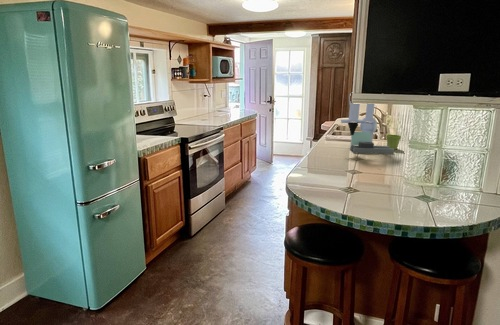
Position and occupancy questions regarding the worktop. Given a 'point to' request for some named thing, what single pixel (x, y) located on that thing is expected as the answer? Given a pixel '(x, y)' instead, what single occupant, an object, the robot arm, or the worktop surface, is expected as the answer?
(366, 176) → the worktop surface
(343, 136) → the worktop surface
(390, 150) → the grey frame
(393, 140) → the plant pot
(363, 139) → the cover
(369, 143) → the block
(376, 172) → the worktop surface
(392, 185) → the worktop surface
